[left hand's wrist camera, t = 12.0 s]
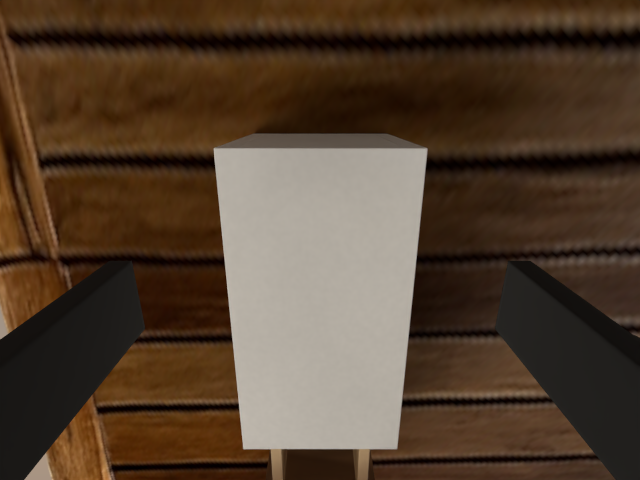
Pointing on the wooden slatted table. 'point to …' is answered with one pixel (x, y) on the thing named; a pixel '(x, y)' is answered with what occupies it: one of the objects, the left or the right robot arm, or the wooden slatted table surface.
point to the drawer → (320, 464)
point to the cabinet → (320, 283)
